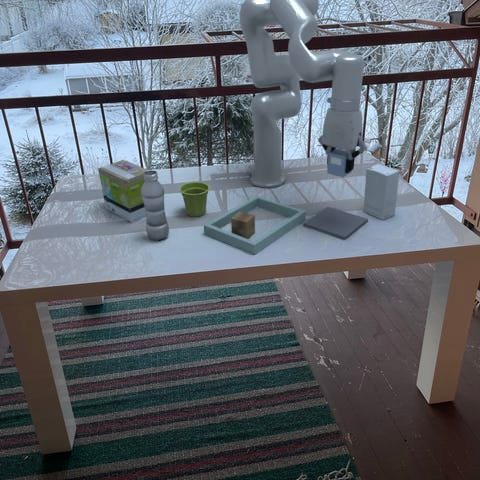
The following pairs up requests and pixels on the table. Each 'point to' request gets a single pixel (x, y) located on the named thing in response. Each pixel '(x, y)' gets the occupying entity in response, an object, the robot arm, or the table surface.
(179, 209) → the table surface
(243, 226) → the walnut block
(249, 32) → the robot arm
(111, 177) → the tea box
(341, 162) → the slate box
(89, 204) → the table surface
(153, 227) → the plastic bottle
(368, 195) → the skincare box
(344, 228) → the mat
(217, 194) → the table surface
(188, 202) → the plant pot
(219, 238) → the tray
